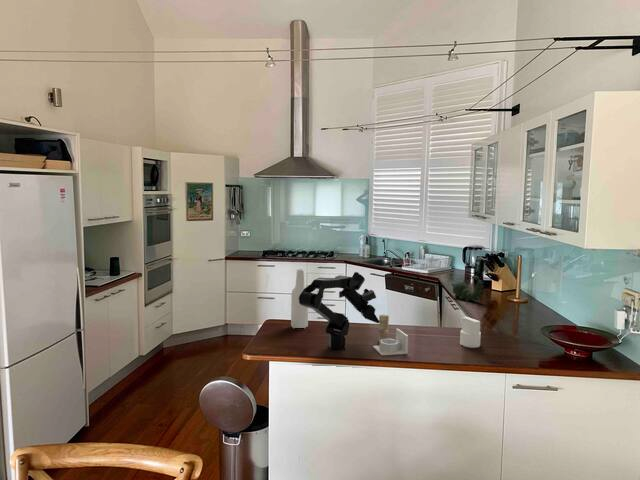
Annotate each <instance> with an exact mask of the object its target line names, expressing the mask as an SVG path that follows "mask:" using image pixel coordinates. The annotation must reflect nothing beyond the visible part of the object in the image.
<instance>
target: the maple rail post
mask: <svg viewBox="0 0 640 480" xmlns="http://www.w3.org/2000/svg"><path fill="white" fill-rule="evenodd" d="M378 316H379V317H378V320H379V323H378V343H380V340H382V339H389V323H390V322H389V319H390V317H389V316H390V315H388V314H379V315H378Z"/></svg>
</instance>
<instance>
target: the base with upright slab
mask: <svg viewBox="0 0 640 480" xmlns="http://www.w3.org/2000/svg"><path fill="white" fill-rule="evenodd" d="M461 318H462V320H461V330H460V332H459V334H460V336H459V344H460V345H461V346H462V345H463V346H462V347H465V348H472V349H473V348H474V349H475V348H480V347H481V339H482V338H481V336H482V335H481V334H482V333H481V321H480V320H477V319H474V318H471V317H469V316H463V317H461Z"/></svg>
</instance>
